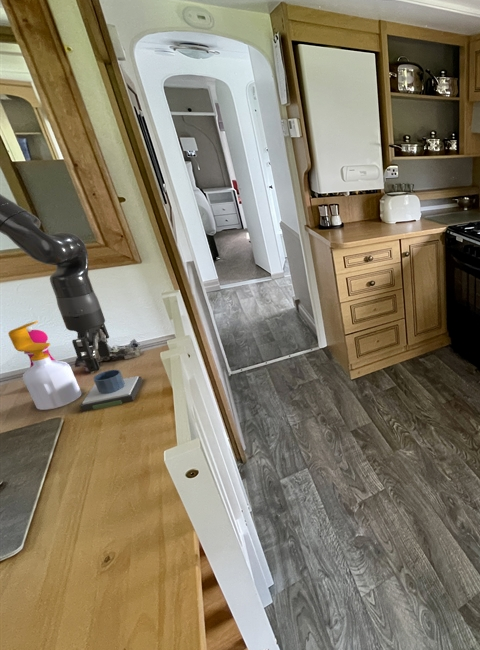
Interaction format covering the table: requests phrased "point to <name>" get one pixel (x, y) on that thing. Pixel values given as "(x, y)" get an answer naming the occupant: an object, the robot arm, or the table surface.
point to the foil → (115, 353)
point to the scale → (112, 395)
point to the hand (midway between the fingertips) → (100, 363)
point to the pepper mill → (38, 341)
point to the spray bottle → (45, 373)
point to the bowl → (109, 381)
